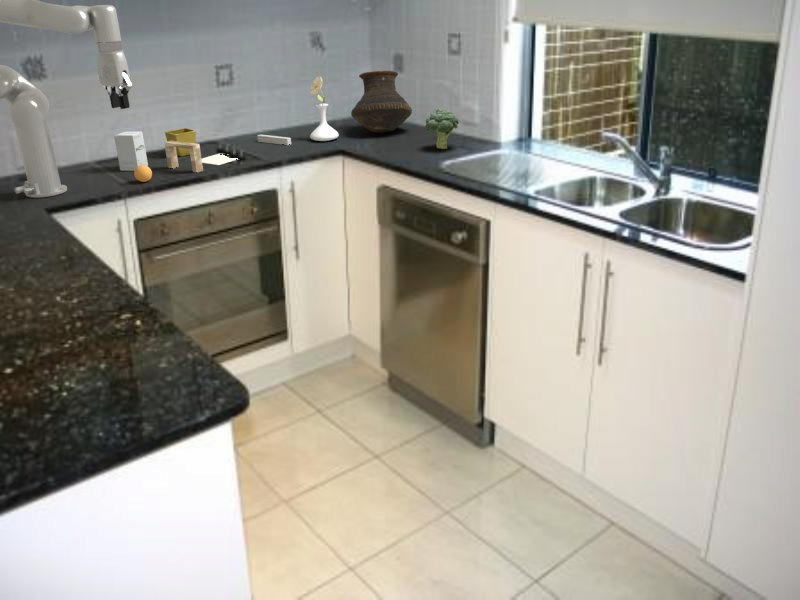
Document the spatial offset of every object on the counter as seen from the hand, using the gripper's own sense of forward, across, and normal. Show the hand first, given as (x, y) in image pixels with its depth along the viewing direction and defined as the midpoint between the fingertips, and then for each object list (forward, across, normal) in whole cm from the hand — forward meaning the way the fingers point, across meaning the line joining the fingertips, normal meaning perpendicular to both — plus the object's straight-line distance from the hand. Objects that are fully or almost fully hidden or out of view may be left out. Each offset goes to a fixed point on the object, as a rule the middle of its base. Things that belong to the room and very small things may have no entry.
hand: (120, 107), depth 249 cm
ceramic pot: (+25, +30, +100) cm, 107 cm away
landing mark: (+25, 0, +38) cm, 46 cm away
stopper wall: (+25, 0, +68) cm, 73 cm away
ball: (+22, 0, +4) cm, 23 cm away
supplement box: (+26, -19, +15) cm, 35 cm away
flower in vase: (+25, +16, +80) cm, 85 cm away
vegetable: (+25, +67, +86) cm, 112 cm away
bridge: (+25, 0, +22) cm, 33 cm away
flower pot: (+26, -19, +38) cm, 50 cm away
